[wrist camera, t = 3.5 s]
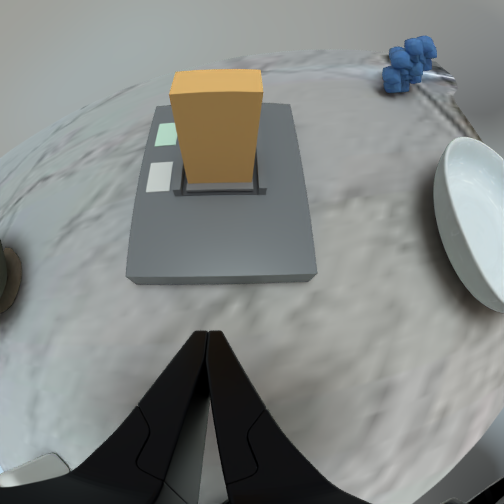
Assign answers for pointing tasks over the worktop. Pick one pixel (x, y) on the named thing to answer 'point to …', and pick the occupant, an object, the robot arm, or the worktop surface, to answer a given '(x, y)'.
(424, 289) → the worktop surface
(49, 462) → the eye dropper bottle
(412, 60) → the grapes
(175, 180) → the switch housing
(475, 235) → the serving bowl
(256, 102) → the switch tab
